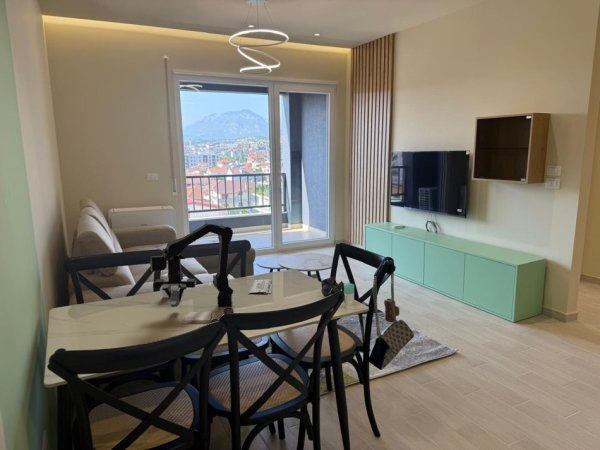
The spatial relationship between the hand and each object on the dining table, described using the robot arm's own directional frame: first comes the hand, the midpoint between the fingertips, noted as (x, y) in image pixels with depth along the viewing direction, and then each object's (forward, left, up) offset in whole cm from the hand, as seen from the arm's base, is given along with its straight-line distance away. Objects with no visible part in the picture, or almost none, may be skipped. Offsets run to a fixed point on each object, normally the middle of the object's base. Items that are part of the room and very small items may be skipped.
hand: (175, 301), depth 195 cm
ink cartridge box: (+8, -25, -6) cm, 27 cm away
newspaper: (-40, -35, -7) cm, 54 cm away
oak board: (-11, +8, -6) cm, 15 cm away
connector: (0, 0, -1) cm, 1 cm away
